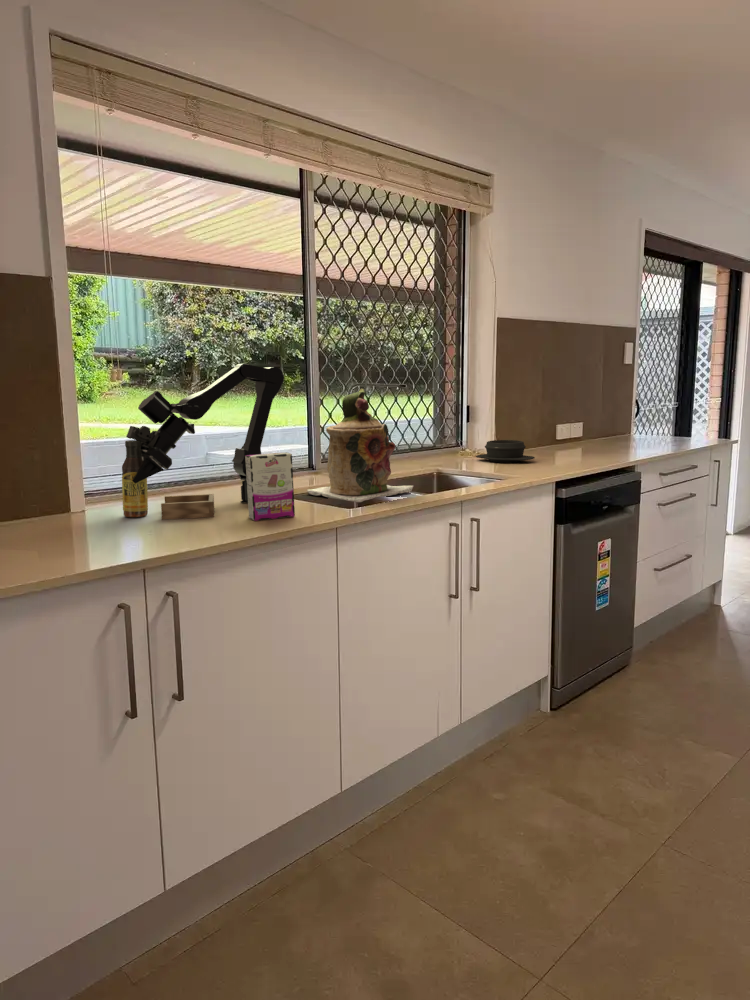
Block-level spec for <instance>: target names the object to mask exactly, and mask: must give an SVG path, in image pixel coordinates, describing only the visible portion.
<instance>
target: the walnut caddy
mask: <svg viewBox="0 0 750 1000" xmlns="http://www.w3.org/2000/svg"><path fill="white" fill-rule="evenodd" d="M160 508H161V511H160V512H161V520H175V519H176V520H179V519H193V518H198V519H199V518H214V517H215V494H214V493H204V494H203V493H201V494H200V493H199V494H183V495H182V494H181V495H178V494H177V495H164V503H163V502H161V503H160Z"/></svg>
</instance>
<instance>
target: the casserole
mask: <svg viewBox="0 0 750 1000" xmlns="http://www.w3.org/2000/svg"><path fill="white" fill-rule="evenodd" d="M526 447H527V446H526V445H525V442H524V441H522V440H517V439H516V440H515V439H496V440H495V439H494V440H487V441H486V444H485V445H484V448H485V449H486V453H483V454H477V455H476V456H475V457H476V459H477V458H478V459H485V460H488V461H490V462H492V463H501V464H503V463H505V464H508V463H509V464H511V463H512V464H513V463H518V462H521V461H528V460H534V459H535V458H536V457H535V456H532V455H524V453H525V449H526Z"/></svg>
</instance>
